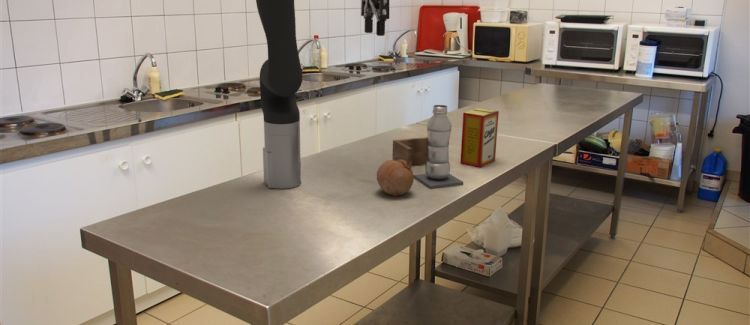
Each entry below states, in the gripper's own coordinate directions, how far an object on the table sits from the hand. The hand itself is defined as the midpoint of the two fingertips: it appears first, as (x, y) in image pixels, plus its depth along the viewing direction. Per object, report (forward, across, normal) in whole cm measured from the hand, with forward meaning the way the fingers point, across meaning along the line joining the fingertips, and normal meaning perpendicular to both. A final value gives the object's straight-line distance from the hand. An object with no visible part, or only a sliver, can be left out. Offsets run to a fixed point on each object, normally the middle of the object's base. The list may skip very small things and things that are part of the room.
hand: (374, 34), depth 169 cm
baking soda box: (+38, +6, +32) cm, 50 cm away
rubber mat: (+38, +18, +12) cm, 44 cm away
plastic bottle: (+38, +18, +12) cm, 43 cm away
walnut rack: (+38, +7, +12) cm, 41 cm away
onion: (+38, +23, -3) cm, 45 cm away
